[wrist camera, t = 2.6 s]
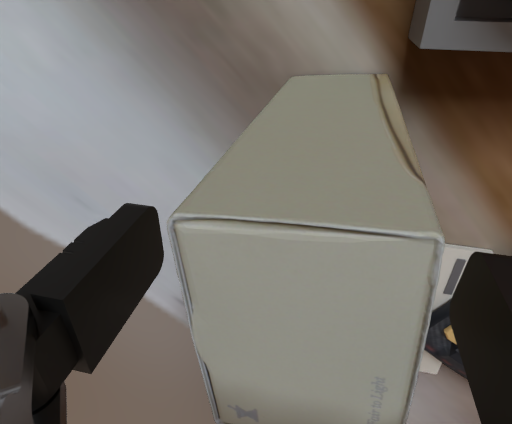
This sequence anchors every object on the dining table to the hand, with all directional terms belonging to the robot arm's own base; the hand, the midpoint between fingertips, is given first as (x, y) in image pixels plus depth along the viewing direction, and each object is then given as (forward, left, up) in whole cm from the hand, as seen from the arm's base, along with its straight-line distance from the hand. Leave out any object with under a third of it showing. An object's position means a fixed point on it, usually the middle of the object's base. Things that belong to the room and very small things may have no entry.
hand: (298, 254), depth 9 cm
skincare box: (0, 0, -9) cm, 9 cm away
